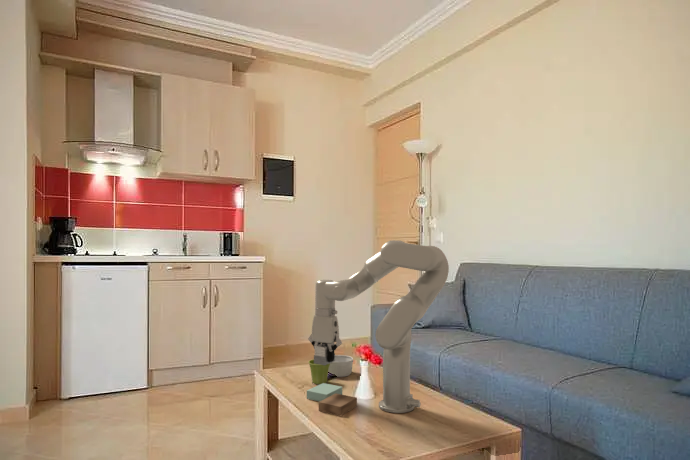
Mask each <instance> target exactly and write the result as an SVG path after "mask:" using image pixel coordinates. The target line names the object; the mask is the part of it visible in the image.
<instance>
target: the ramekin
mask: <svg viewBox="0 0 690 460" xmlns="http://www.w3.org/2000/svg"><path fill="white" fill-rule="evenodd" d="M353 363H354V357H352V356H350V355H345V354H344V355H343V354H335V362H332V363H330V366H329V369H328V372H330V373H332V374H335V375H336V376H337V377H336V378H344V377H345V378H346V377H348V376H351V374H352V372H353Z"/></svg>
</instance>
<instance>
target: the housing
mask: <svg viewBox="0 0 690 460" xmlns="http://www.w3.org/2000/svg"><path fill="white" fill-rule="evenodd" d="M328 352H329V347H328V343H321V344H319V345H316V346H315V349H314V355H313V359H314V364H320V365H327V364H329V363H332V362H335V355H336V353H335V352H334V361H332V362H328Z"/></svg>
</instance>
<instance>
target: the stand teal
mask: <svg viewBox="0 0 690 460" xmlns="http://www.w3.org/2000/svg"><path fill="white" fill-rule="evenodd" d="M335 393H336V394H341V395H343V386H341V385H334V384H331V383H322V384H317V385H316V386H314V387H311V388H309V389H307V390H306V399H307V400H311V401H315V402H316V401H317V402H320V401H322V400H324V399H326V398H328V397H330V396H332V395H333V394H335Z"/></svg>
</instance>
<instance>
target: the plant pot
mask: <svg viewBox="0 0 690 460" xmlns="http://www.w3.org/2000/svg"><path fill="white" fill-rule="evenodd" d="M308 364H309V368H310V375H311V382H312V384H315V385H320V384H322V383H325V384H327V381H328V369H329V366H330V363H329V364H327V365H320V364H314V358H313V359H310V360H308Z"/></svg>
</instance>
